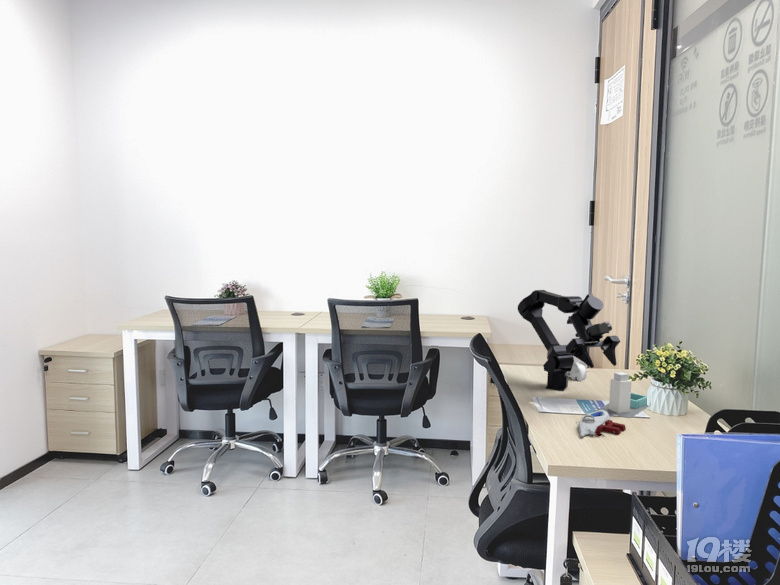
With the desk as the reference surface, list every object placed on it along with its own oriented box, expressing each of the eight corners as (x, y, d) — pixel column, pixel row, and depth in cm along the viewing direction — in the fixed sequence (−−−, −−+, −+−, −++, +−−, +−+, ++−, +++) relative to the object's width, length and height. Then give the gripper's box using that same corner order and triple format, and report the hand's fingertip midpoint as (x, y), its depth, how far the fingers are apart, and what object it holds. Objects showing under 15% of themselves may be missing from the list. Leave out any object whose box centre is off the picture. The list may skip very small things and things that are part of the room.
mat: (630, 421, 191) (630, 418, 191) (595, 413, 198) (595, 410, 198) (653, 406, 207) (653, 403, 207) (620, 399, 214) (620, 396, 214)
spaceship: (592, 416, 197) (593, 402, 196) (613, 420, 193) (614, 406, 192) (566, 436, 178) (567, 421, 177) (590, 441, 174) (591, 426, 173)
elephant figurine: (568, 375, 247) (569, 357, 246) (591, 379, 241) (592, 361, 240) (559, 378, 241) (560, 360, 241) (583, 383, 235) (584, 364, 234)
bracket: (609, 418, 185) (596, 427, 178) (628, 423, 182) (616, 431, 174) (608, 428, 186) (595, 437, 178) (628, 432, 182) (615, 441, 174)
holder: (612, 402, 206) (613, 395, 206) (625, 398, 212) (626, 391, 211) (636, 408, 200) (636, 401, 200) (648, 404, 206) (649, 396, 205)
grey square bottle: (608, 409, 200) (610, 372, 198) (619, 407, 201) (621, 371, 200) (618, 413, 196) (620, 375, 194) (629, 411, 197) (631, 374, 196)
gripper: (572, 314, 204) (593, 354, 195) (618, 312, 211) (640, 350, 202) (556, 334, 212) (576, 373, 203) (600, 330, 219) (621, 369, 210)
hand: (604, 366), depth 204 cm, fingers open, 9 cm apart
